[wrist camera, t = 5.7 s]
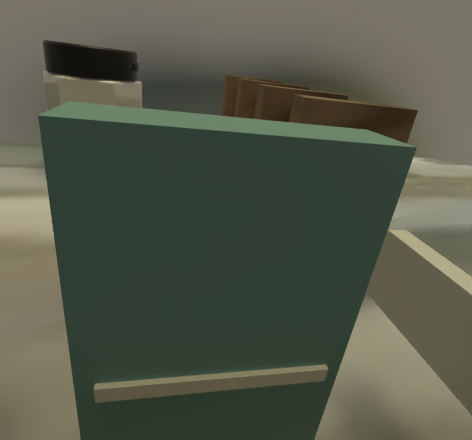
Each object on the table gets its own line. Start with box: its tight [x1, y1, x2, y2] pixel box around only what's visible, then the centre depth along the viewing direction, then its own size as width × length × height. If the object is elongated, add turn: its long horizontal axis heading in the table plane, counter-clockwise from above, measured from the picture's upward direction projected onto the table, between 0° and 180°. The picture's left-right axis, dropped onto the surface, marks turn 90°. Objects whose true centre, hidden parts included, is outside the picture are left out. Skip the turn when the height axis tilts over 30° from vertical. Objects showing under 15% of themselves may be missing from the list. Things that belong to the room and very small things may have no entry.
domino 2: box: [234, 78, 309, 119], centre depth 31 cm, size 6×2×11 cm, turn 101°
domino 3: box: [254, 84, 348, 122], centre depth 25 cm, size 6×2×11 cm, turn 101°
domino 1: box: [222, 75, 283, 117], centre depth 37 cm, size 6×2×11 cm, turn 101°
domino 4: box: [289, 94, 418, 144], centre depth 19 cm, size 6×2×11 cm, turn 101°
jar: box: [43, 40, 142, 111], centre depth 33 cm, size 9×8×12 cm
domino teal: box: [38, 101, 416, 440], centre depth 8 cm, size 6×2×11 cm, turn 101°
